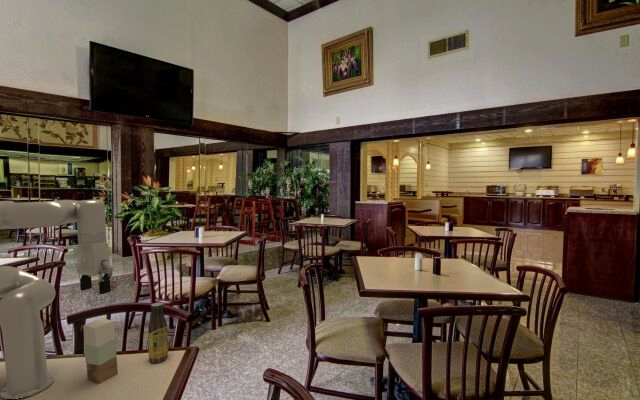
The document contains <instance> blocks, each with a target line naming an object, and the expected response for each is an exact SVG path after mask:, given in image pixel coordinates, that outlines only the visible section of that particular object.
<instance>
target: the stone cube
mask: <svg viewBox="0 0 640 400" xmlns="http://www.w3.org/2000/svg"><path fill="white" fill-rule="evenodd" d="M82 328H83V339H84V340H83V341H84V344H87V345H91V346H94V347H97V346H100V345H102V344H104V343H106V342H109V341H111V340H113V339H115V340H116V337H115V336H116V335H115V322H114V320H111V319H108V318H107V319H106V318H99V319H97V320H93V321H91V322H88V323H86V324H83V327H82Z"/></svg>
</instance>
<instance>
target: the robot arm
mask: <svg viewBox="0 0 640 400" xmlns="http://www.w3.org/2000/svg"><path fill="white" fill-rule="evenodd" d="M105 207H106V206H105V202H104V201H103V200H101V199H86V200H85V199H82V200H74V199H60V200H52V201H51V200H48V201H33V202H31V201H29V202H27V201H26V202H25V201H24V202H15V201H13V200H0V230H14V229H32V228H33V229H34V228H49V227H57V226H62V225H63V226H64V225H67V224H72V223H76V227H77V228H76V229H77V241H78V243H77V250H76V265H75V266H76V272H77V273H78V278H79V288H80V291H81V292H82V291H86V290H90V289H92V287H93V286H92V284H93V283H92V277H96V276H97V277H98V279H99V281H98V292H99V295H105V294H108V293H110V292H111V291H112V290H111V279H112V276H113V271H114V267H113V266H112V265H111V264H110V257H109V256H110V255H109V250H108V245H107V244H108V243H107V226H106V224H107V223H106V208H105ZM56 294H57V293H56V289H55V286H54V285H53V284H52V283H51V282H49V281H48V280H46V279H44V278H41V277H40V276H37V275H34V274H32V273H30V272H27V271H25V270H23V269H20V268H17V267H15V266H10V265H9V266H8V265H2V266H1V265H0V328H1V335H2V343H3V344H2V345H3V353H4V364H5V365H4V366H5V377H6V378H5V379H6V386H5V387H4V388H3V389H2V390H1V391H0V398H1V397H2V398H4V399H16V398H21V397H25V398H28V397H31V396H34V395H37V394H39V393H40V392H42V391H44V390H46V389H48V388H49V387H50V386H52V384H53V383H54V381H55V376H54V375H53V374H52V373H48V365H47V364H48V363H47V353H46V352H47V351H46V339H45V328H44V324H43V321H42V319H41V316H40V314H39V312H40V311H42V310H43V309H44V308H46V307H47V306H49V305H50V304H51V303H52V302H53V301H54V300H55V297H56ZM27 396H28V397H27ZM2 398H1V399H2ZM4 399H3V400H4Z"/></svg>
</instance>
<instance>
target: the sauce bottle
mask: <svg viewBox="0 0 640 400" xmlns="http://www.w3.org/2000/svg"><path fill="white" fill-rule="evenodd" d="M150 309H151V319H150V320H149V323H148V327H147V328H148V331H147V336H148V337H147V338H148V341H147V342H148V346H147V348H148V360H149V363H152V364H156V363H161V362H164V361H165V360H167V359H168V354H169V339H168V338H169V337H168V333H169V332H168V323H167V319H166V317H165V316H164V315H165V314H164V302H155V303H152V304H151V305H150Z"/></svg>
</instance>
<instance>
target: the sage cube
mask: <svg viewBox="0 0 640 400" xmlns="http://www.w3.org/2000/svg"><path fill="white" fill-rule="evenodd" d="M116 356H117V344H116V338H115V339H113V340H111V341H109V342H106V343H104V344H102V345H100V346H97V347H94V346H91V345H87V344H85V343H84V358H85V363H89V364H94V365H101V364H103V363H105V362H107V361H108V360H110V359H112V358H114V357H116Z"/></svg>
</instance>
